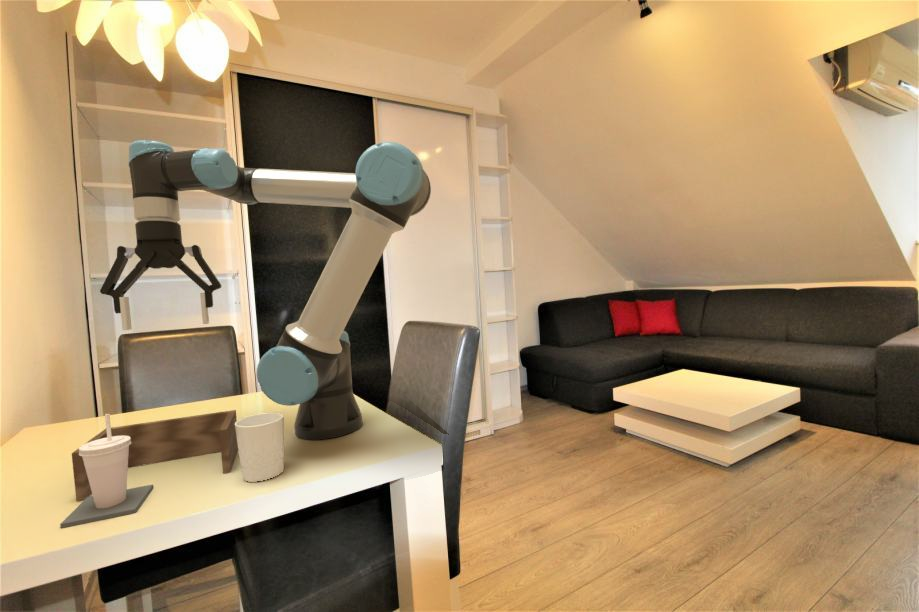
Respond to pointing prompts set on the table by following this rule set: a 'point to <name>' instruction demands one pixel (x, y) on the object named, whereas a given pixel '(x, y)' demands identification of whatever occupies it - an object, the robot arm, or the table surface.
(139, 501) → the mat
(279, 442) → the white cup
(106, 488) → the smoothie
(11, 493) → the table surface
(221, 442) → the wooden enclosure
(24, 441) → the table surface
